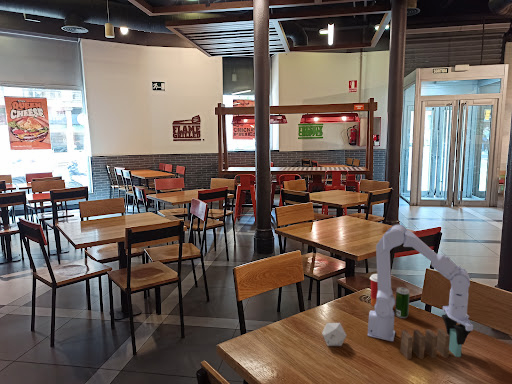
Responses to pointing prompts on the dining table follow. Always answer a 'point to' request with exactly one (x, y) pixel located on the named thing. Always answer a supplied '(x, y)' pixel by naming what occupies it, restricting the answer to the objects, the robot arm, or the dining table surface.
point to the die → (334, 334)
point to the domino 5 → (454, 343)
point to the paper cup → (374, 289)
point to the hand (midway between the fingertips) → (455, 339)
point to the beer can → (402, 302)
